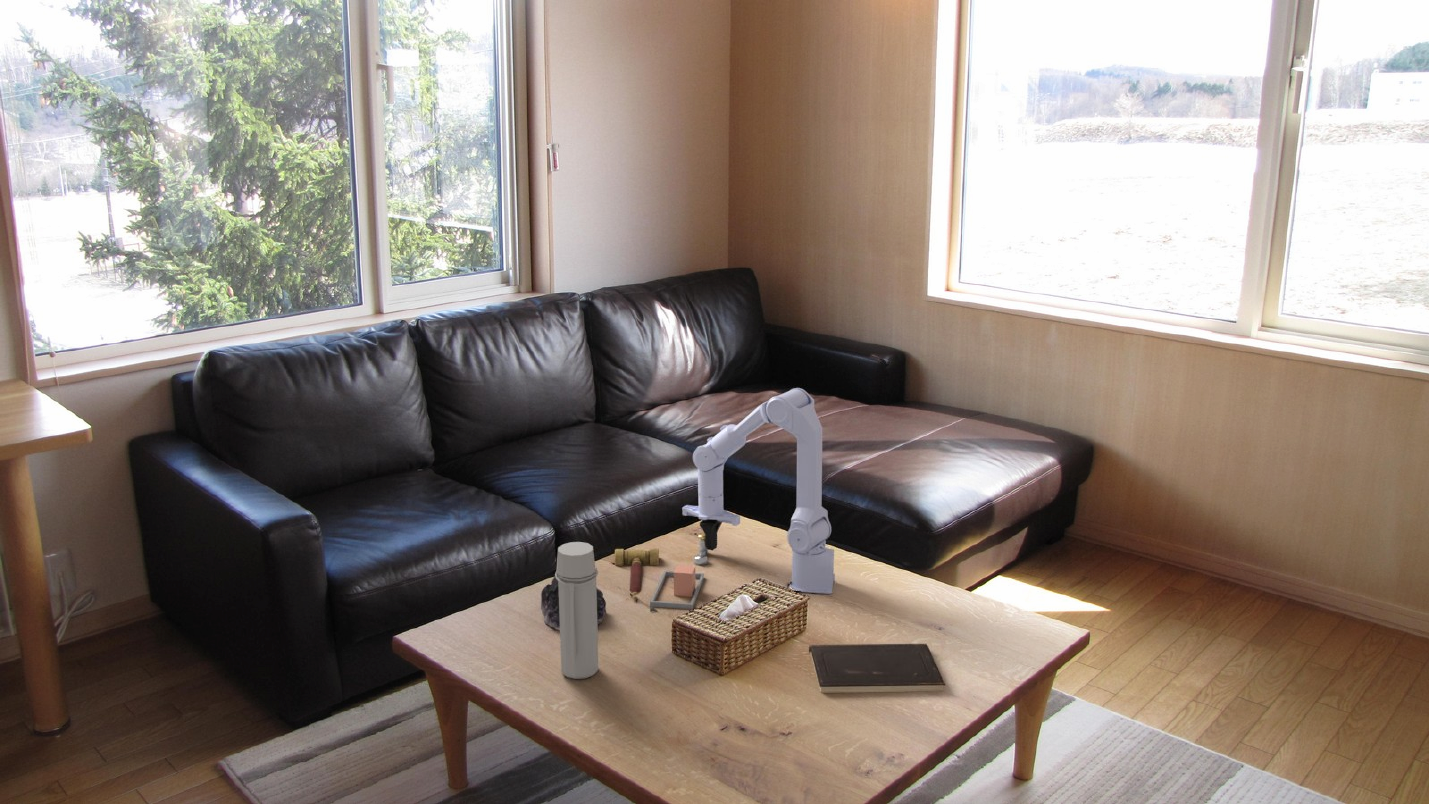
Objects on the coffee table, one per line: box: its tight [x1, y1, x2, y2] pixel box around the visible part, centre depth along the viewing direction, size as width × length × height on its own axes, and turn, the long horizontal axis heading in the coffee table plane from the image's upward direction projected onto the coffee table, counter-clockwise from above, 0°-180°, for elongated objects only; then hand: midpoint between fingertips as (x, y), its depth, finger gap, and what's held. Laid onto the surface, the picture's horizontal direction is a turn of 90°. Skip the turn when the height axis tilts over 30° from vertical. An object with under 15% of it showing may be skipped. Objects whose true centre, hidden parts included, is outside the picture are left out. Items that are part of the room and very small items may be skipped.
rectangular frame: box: [649, 570, 705, 612], centre depth 243 cm, size 9×16×2 cm, turn 172°
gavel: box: [614, 548, 660, 601], centre depth 251 cm, size 21×5×10 cm
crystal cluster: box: [540, 574, 607, 632], centre depth 232 cm, size 13×14×10 cm
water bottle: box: [554, 541, 599, 680], centre depth 208 cm, size 9×8×25 cm
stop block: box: [673, 564, 696, 598], centre depth 242 cm, size 4×4×6 cm
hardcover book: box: [808, 643, 946, 694], centre depth 212 cm, size 16×23×2 cm
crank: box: [693, 532, 709, 566], centre depth 260 cm, size 8×3×5 cm, turn 174°
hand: (711, 548), depth 262 cm, fingers closed, pressing on crank
